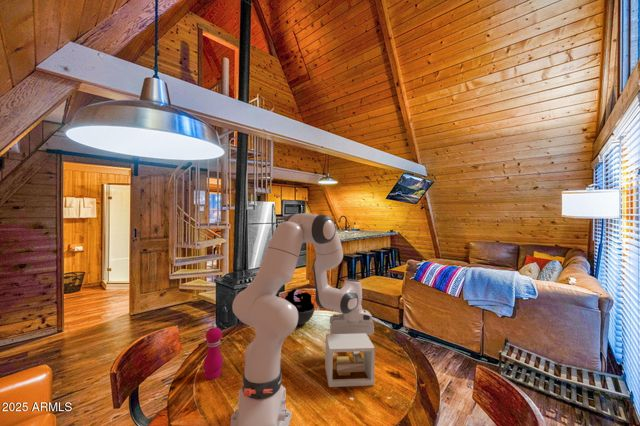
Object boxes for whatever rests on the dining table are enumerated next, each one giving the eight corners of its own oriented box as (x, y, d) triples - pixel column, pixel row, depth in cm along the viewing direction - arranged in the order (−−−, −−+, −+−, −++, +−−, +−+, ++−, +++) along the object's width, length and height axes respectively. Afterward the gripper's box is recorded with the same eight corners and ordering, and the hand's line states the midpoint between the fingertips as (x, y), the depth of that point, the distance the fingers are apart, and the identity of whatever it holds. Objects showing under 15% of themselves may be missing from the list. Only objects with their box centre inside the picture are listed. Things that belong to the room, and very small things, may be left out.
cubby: (374, 385, 101) (374, 347, 102) (328, 387, 100) (329, 349, 100) (365, 366, 114) (366, 333, 114) (325, 367, 112) (325, 334, 112)
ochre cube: (350, 375, 108) (350, 362, 108) (338, 375, 107) (338, 363, 107) (348, 368, 113) (348, 356, 113) (336, 368, 112) (336, 356, 112)
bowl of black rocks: (313, 331, 147) (314, 297, 147) (277, 330, 147) (278, 296, 147) (314, 317, 167) (315, 287, 167) (283, 316, 167) (283, 286, 167)
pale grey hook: (367, 371, 104) (367, 363, 104) (337, 372, 103) (337, 364, 103) (349, 331, 140) (349, 325, 140) (326, 332, 138) (326, 326, 138)
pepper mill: (215, 381, 102) (217, 329, 102) (199, 378, 103) (200, 327, 103) (226, 370, 109) (227, 321, 109) (210, 368, 110) (211, 319, 110)
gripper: (330, 317, 119) (330, 348, 119) (375, 316, 121) (374, 346, 121) (329, 312, 125) (328, 341, 125) (371, 311, 127) (370, 340, 127)
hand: (351, 344), depth 123 cm, fingers closed on pale grey hook, 2 cm apart
